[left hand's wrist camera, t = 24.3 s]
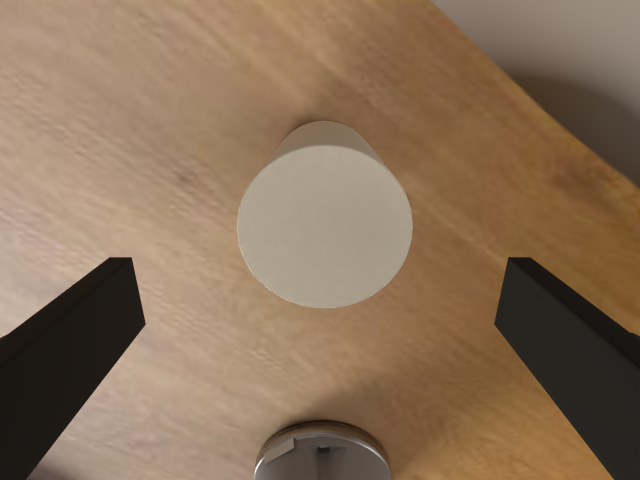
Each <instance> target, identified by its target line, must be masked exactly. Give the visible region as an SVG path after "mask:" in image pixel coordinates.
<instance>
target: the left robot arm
mask: <svg viewBox="0 0 640 480" xmlns="http://www.w3.org/2000/svg"><path fill="white" fill-rule="evenodd" d="M145 325H146V323H145V319H144V314H143V309H142V304H141V300H140V295H139V290H138V285H137V281H136V276H135V271H134V266H133V262H132V257H110V258H108V259H107V260H106V261H104V262H103V263H102V264H100V265H99V266H98V267H96V268H95V269H94V270H92V271H91V272H90V273H88V274H87V275H86V276H84V277H83V278H82V279H80V280H79V281H78V282H77V283H75V284H74V285H73V286H71V287H70V288H69V289H67V290H66V291H65V292H63V293H62V294H61V295H59V296H58V297H57V298H55V299H54V300H53V301H51V302H50V303H49V304H47V305H46V306H45V307H43V308H42V309H41V310H39V311H38V312H37V313H36V314H34V315H33V316H32V317H30V318H29V319H28V320H26V321H25V322H24V323H22V324H21V325H20V326H18V327H17V328H16V329H14V330H13V331H12V332H10V333H9V334H7V335H5V336H3V337H1V338H0V480H26V479H27V477H28V476H29V475H30V474H31V472H32V471H33V470H34V468H35V467H36V466H37V464H38V463H39V462H40V461H41V459H42V458H43V457H44V455H45V454H46V453H47V452H48V450H49V449H50V448H51V446H52V445H53V444H54V442H55V441H56V440H57V439H58V437H59V436H60V435H61V433H62V432H63V431H64V429H65V428H66V427H67V426H68V424H69V423H70V422H71V420H72V419H73V418H74V417H75V415H76V414H77V413H78V411H79V410H80V409H81V407H82V406H83V405H84V404H85V402H86V401H87V400H88V398H89V397H90V396H91V394H92V393H93V392H94V391H95V389H96V388H97V387H98V385H99V384H100V383H101V382H102V380H103V379H104V378H105V376H106V375H107V374H108V372H109V371H110V370H111V369H112V367H113V366H114V365H115V363H116V362H117V361H118V360H119V358H120V357H121V356H122V354H123V353H124V352H125V350H126V349H127V348H128V347H129V345H130V344H131V343H132V341H133V340H134V339H135V337H136V336H137V335H138V334H139V332H140V331H141V330H142V328H143V327H144V326H145ZM494 325H495V326H496V327H497V328H498V330H499V331H500V332H501V334H502V335H503V336H504V337H505V339H506V340H507V341H508V343H509V344H510V345H511V347H512V348H513V349H514V350H515V352H516V353H517V354H518V356H519V357H520V358H521V360H522V361H523V362H524V363H525V365H526V366H527V367H528V369H529V370H530V371H531V372H532V374H533V375H534V376H535V378H536V379H537V380H538V382H539V383H540V384H541V385H542V387H543V388H544V389H545V391H546V392H547V393H548V395H549V396H550V397H551V398H552V400H553V401H554V402H555V404H556V405H557V406H558V407H559V409H560V410H561V411H562V413H563V414H564V415H565V417H566V418H567V419H568V420H569V422H570V423H571V424H572V426H573V427H574V428H575V429H576V431H577V432H578V433H579V435H580V436H581V437H582V439H583V440H584V441H585V442H586V444H587V445H588V446H589V448H590V449H591V450H592V452H593V453H594V454H595V455H596V457H597V458H598V459H599V461H600V462H601V463H602V464H603V466H604V467H605V468H606V470H607V471H608V472H609V474H610V475H611V476H612V477H613V479H614V480H640V336H638V335H636V334H634V333H630V332H628V331H627V330H626V329H624V328H623V327H622V326H620V325H619V324H618V323H616V322H615V321H614V320H612V319H611V318H610V317H608V316H607V315H606V314H604V313H603V312H602V311H601V310H599V309H598V308H597V307H595V306H594V305H593V304H591V303H590V302H589V301H587V300H586V299H585V298H583V297H582V296H581V295H579V294H578V293H577V292H575V291H574V290H573V289H571V288H570V287H569V286H567V285H566V284H565V283H563V282H562V281H561V280H560V279H558V278H557V277H556V276H554V275H553V274H552V273H550V272H549V271H548V270H546V269H545V268H544V267H542V266H541V265H540V264H538V263H537V262H536V261H534V260H533V259H532V258H530V257H508V262H507V266H506V271H505V276H504V281H503V285H502V290H501V295H500V300H499V304H498V309H497V314H496V319H495V323H494ZM253 480H392V475H391V469H390V464H389V459H388V456H387V453H386V452H385V450H384V448H383V447H382V446H381V444H380V443H379V442H378V441H377V440H376V439H375V438H373V437H372V436H371V435H369V434H368V433H366V432H364V431H362V430H360V429H358V428H355V427H353V426H350V425H346V424H342V423H336V422H325V421H322V422H308V423H302V424H298V425H295V426H292V427H289V428H287V429H284V430H282V431H280V432H279V433H277V434H275V435H274V436H273V437H271V438H270V439H269V440H268V441H267V442H266V443H265V444H264V445H263V447H262V448H261V450H260V452H259V454H258V457H257V460H256V466H255V471H254V477H253Z"/></svg>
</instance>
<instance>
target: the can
mask: <svg viewBox="0 0 640 480" xmlns="http://www.w3.org/2000/svg"><path fill="white" fill-rule="evenodd" d="M412 228H413V223H412V213H411V209H410V204H409V201H408V199H407V196H406V194H405V192H404V190H403V188H402V186H401V185H400V183H399V181H398V180H397V179H396V178H395V176H394V175H393V174H392V172H391V171H390V170H389V169H388V168H387V166H386V165H385V164H384V163H383V161H382V160H381V159H380V158H379V157H378V155H377V154H376V153H375V152H374V150H373V149H372V148H371V147H370V146H369V144H368V143H367V142H366V141H365V139H364V138H363V137H362V136H361V135H360V134H359V133H358V132H356V131H355V130H354V129H352V128H350V127H348V126H347V125H344V124H341V123H338V122H334V121H315V122H310V123H307V124H304V125H302V126H300V127H298V128H297V129H295V130H294V131H292V132H291V133H290V134H289V135H288V136H287V137H286V138H285V139H284V140H283V142H282V143H281V144H280V145H279V147H278V148H277V149H276V150H275V152H274V153H273V154H272V155H271V157H270V158H269V159H268V161H267V162H266V163H265V164H264V166H263V167H262V168H261V169H260V171H259V172H258V173H257V174H256V176H255V177H254V178H253V180H252V181H251V183H250V184H249V186H248V187H247V189H246V191H245V193H244V195H243V198H242V200H241V203H240V207H239V211H238V218H237V235H238V242H239V246H240V249H241V252H242V255H243V257H244V259H245V262H246V263H247V265H248V267H249V268H250V270H251V272H252V273H253V274H254V275H255V277H256V278H257V279H258V280H259V281H260V282H261V283H262V284H263V285H264V286H265V287H266V288H268V289H269V290H270V291H272V292H273V293H274V294H276V295H278V296H279V297H281V298H283V299H285V300H287V301H290V302H292V303H295V304H298V305H302V306H307V307H312V308H337V307H344V306H347V305H351V304H354V303H357V302H360V301H362V300H364V299H366V298H368V297H370V296H372V295H373V294H375V293H376V292H378V291H379V290H381V289H382V288H383V287H384V286H385V285H386V284H388V283H389V282H390V281H391V279H392V278H393V277H394V276H395V275H396V273H397V272H398V271H399V269H400V268H401V266H402V264H403V262H404V260H405V258H406V256H407V253H408V251H409V248H410V244H411V239H412Z"/></svg>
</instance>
